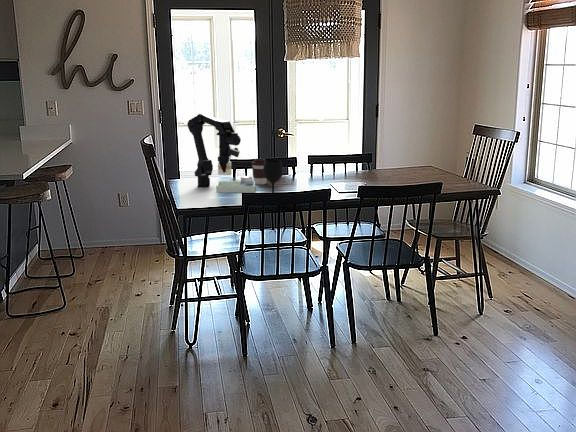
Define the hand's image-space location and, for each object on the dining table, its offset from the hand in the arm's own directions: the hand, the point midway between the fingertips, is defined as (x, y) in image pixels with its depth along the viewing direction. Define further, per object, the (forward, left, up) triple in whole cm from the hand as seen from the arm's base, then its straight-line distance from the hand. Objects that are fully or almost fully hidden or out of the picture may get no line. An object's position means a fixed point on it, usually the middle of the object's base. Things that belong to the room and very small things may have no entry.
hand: (224, 171), depth 348 cm
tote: (+6, 0, -11) cm, 13 cm away
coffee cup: (+20, +19, -11) cm, 30 cm away
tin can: (+12, 0, -10) cm, 16 cm away
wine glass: (+27, -21, -11) cm, 36 cm away
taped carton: (0, 0, -2) cm, 2 cm away
